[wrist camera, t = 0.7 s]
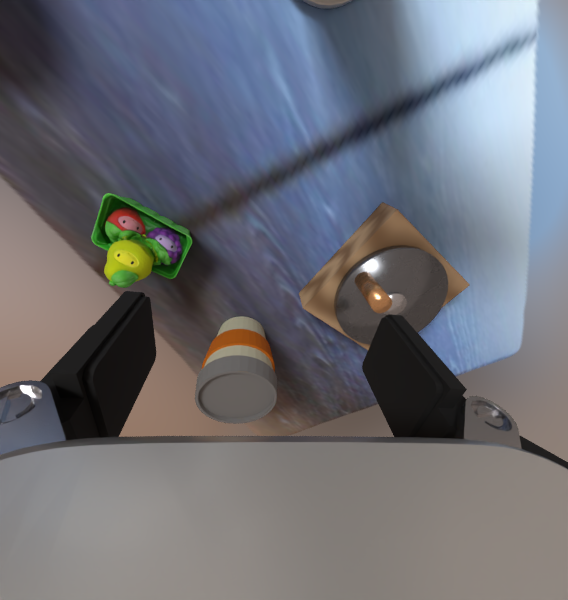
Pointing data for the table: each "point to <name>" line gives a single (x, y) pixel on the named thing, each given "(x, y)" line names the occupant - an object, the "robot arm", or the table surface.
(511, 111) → the table surface
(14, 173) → the table surface
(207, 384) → the reusable coffee cup
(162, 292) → the table surface
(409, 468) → the robot arm
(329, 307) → the block
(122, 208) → the fruit basket
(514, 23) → the table surface
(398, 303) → the handwheel
